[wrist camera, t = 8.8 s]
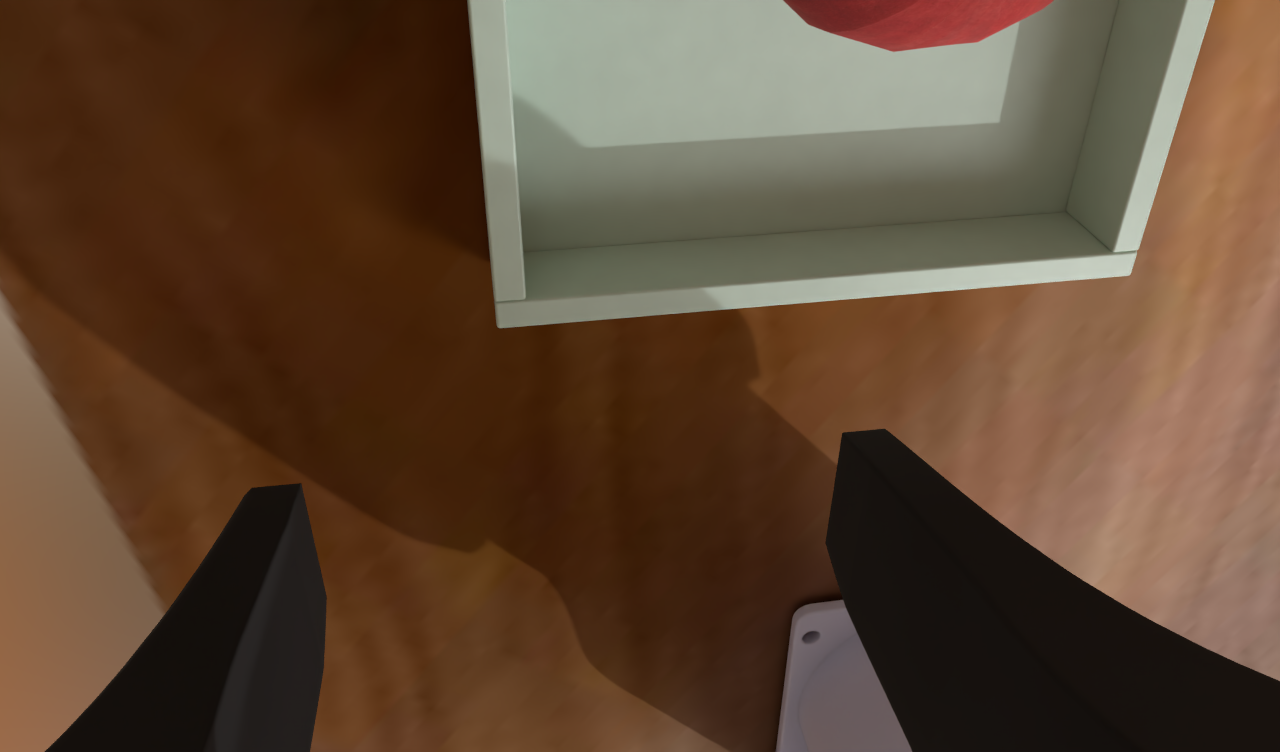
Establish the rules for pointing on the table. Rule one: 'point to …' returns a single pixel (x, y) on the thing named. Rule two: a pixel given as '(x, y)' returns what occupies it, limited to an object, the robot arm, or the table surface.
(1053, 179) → the tray
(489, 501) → the table surface
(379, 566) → the table surface
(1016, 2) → the onion
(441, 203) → the table surface
